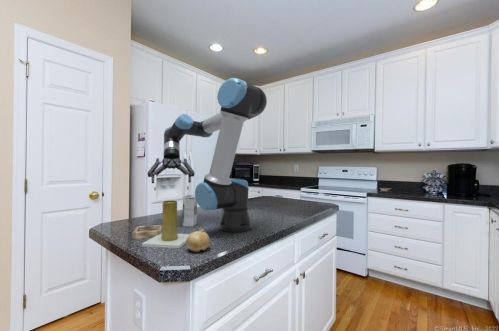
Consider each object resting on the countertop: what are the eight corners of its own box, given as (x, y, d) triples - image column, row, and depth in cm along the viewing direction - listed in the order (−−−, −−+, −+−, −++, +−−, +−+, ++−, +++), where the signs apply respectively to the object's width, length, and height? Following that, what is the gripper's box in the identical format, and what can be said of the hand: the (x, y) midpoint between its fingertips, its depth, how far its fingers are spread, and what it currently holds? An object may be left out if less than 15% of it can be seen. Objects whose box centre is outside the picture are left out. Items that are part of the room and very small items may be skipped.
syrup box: (185, 223, 119) (185, 194, 119) (197, 224, 118) (197, 195, 119) (181, 226, 113) (182, 196, 113) (194, 226, 113) (194, 196, 113)
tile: (193, 236, 97) (193, 234, 97) (178, 248, 83) (178, 245, 83) (161, 235, 99) (161, 232, 99) (141, 246, 85) (141, 243, 85)
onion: (208, 254, 78) (208, 232, 78) (183, 254, 78) (184, 232, 78) (210, 246, 86) (210, 226, 86) (188, 246, 85) (188, 226, 86)
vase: (158, 240, 88) (158, 202, 88) (165, 236, 94) (165, 200, 94) (174, 241, 87) (174, 202, 88) (180, 236, 94) (180, 200, 94)
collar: (162, 230, 106) (162, 224, 106) (160, 237, 96) (160, 230, 96) (136, 232, 103) (136, 226, 103) (132, 239, 93) (132, 232, 93)
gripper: (197, 158, 123) (199, 192, 110) (144, 157, 115) (141, 194, 102) (198, 147, 117) (201, 182, 104) (143, 146, 110) (139, 183, 97)
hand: (171, 188), depth 103 cm, fingers open, 13 cm apart
